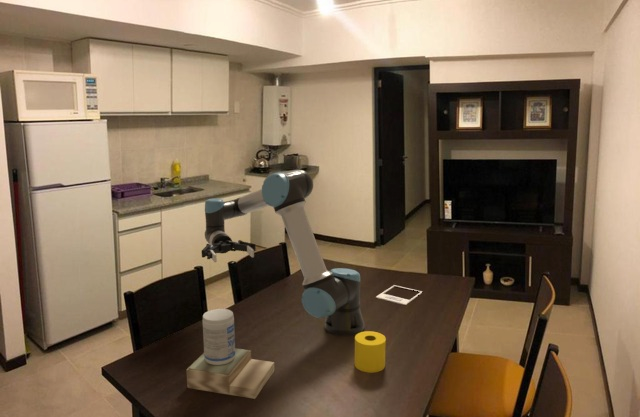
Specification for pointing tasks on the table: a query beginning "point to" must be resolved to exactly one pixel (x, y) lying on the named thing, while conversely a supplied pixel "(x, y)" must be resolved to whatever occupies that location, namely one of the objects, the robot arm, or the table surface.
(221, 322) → the supplement tub
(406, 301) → the photo frame
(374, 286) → the table surface
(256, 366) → the birch riser
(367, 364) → the yellow hollow cylinder
